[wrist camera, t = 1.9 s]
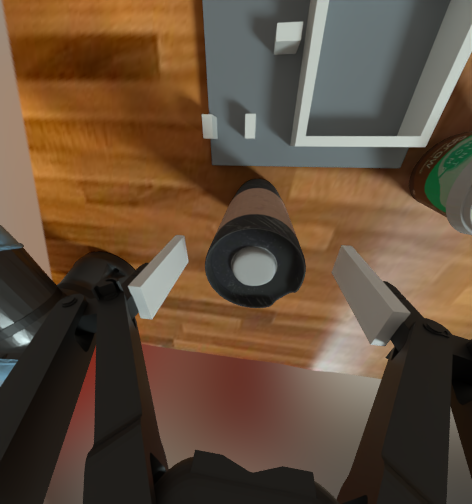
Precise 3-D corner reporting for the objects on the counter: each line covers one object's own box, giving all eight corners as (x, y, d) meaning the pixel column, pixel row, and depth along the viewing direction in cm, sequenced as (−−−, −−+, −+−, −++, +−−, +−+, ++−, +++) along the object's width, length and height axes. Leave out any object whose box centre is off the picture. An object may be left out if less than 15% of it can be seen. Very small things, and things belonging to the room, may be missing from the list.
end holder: (290, 146, 24) (295, 146, 21) (313, -25, 17) (327, -68, 14) (400, 146, 23) (425, 147, 19) (478, -38, 16) (538, -89, 12)
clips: (209, 138, 25) (203, 138, 22) (198, -36, 17) (187, -67, 15) (284, 139, 24) (287, 138, 21) (307, -46, 16) (316, -81, 14)
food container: (458, 100, 21) (591, 70, 13) (499, 121, 22) (652, 107, 13) (379, 196, 28) (432, 219, 19) (412, 211, 28) (478, 240, 20)
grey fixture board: (214, 164, 28) (212, 165, 27) (203, -44, 18) (199, -59, 17) (392, 166, 25) (399, 168, 24) (492, -72, 16) (514, -92, 14)
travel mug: (234, 176, 28) (197, 222, 11) (283, 177, 28) (320, 228, 11) (234, 221, 32) (207, 305, 15) (276, 223, 32) (297, 313, 15)
